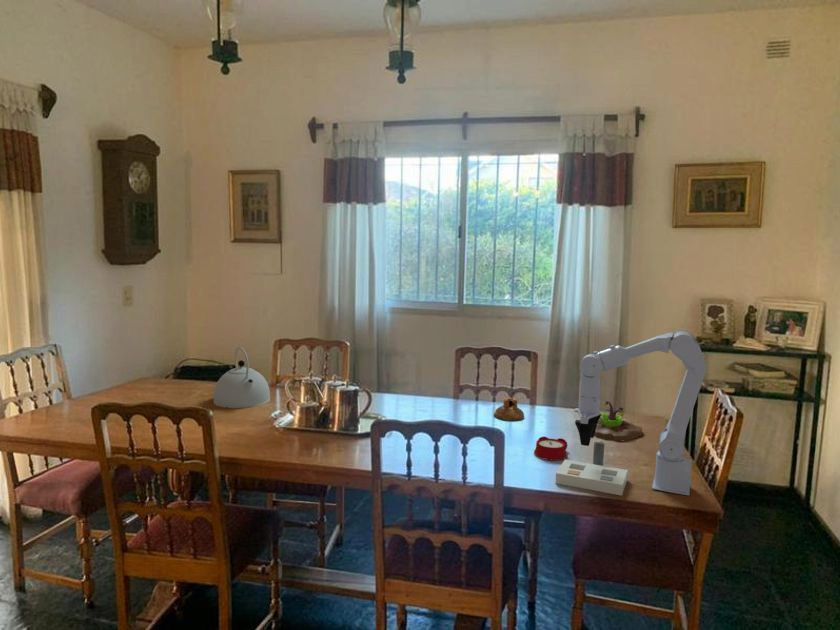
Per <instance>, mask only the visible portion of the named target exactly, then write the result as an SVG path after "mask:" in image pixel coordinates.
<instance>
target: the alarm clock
mask: <svg viewBox="0 0 840 630" xmlns="http://www.w3.org/2000/svg"><path fill="white" fill-rule="evenodd" d="M535 446H536V447H535V449H534V450H533V454H534V455H535V456H536V457H538V458H540V459H543V460H547V461H549V462H550V461H561V460H566V458H567V457H568V453H567V449H568V442H567V441H566V439H564V438H561V437H560V438H557V439H556V438H549V437H547V436H541V437H539V438H538V439H537V440H536V443H535Z"/></svg>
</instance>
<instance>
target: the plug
mask: <svg viewBox="0 0 840 630" xmlns="http://www.w3.org/2000/svg"><path fill="white" fill-rule="evenodd" d="M604 456H605V442H603V440H595V441H594V442H593V457H592V464H595V465H601V466H604V459H605V457H604Z"/></svg>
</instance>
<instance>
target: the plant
mask: <svg viewBox="0 0 840 630" xmlns="http://www.w3.org/2000/svg"><path fill="white" fill-rule="evenodd" d="M603 405H604V406H607V405H609V413H605V412H602V413H600V414H601V417H600V418H599V421H598V423H597V426H596V430H595V434H594V437H596V438H600V437H601V439H602V438H603V439H602V440H611V439H612V441H613V440H614V441H613V442H623V441H622V440H626V441H628V440H627V439H629V438H631V439H633V438H632V437H634V438H637V437H636V436H640V437H641V436H642V435H641V434H643V429H642V428H643V427H642V426H640V425H636V424H634V423H633V422H628V421H626V418H623V417H624V415H625V414H624V411H625V408H623V407H621V406H620V407H619V406H618V407H617V408H616V410H614V408H613V405H612V403H611V402H610V401H608V400H605V401H604V402H603ZM618 412H620V413H619V414H617V413H618ZM621 418H623V419H621ZM629 440H630V439H629Z"/></svg>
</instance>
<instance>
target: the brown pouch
mask: <svg viewBox="0 0 840 630" xmlns="http://www.w3.org/2000/svg"><path fill="white" fill-rule="evenodd" d="M493 416H494V417H495V419H498V420H501V421H509V422H511V421H513V422H516V421H521V420H523V419H524V417H525V413H524V412H523V410H522V409H521V408H519V407H518V400H517V399H516V398H513V397H504V400H503V404H502V405H501V406H499V407H497V408H496V409H495V411H494V412H493Z"/></svg>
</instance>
